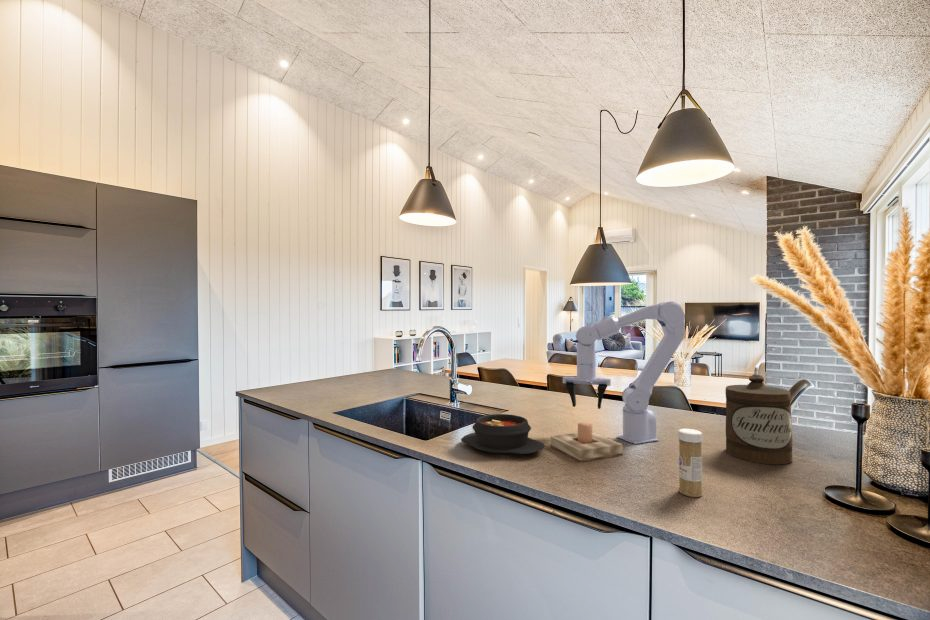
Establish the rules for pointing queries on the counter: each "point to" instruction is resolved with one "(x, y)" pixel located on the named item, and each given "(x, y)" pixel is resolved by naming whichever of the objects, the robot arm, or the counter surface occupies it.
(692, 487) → the sprinkles bottle
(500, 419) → the casserole
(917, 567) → the counter surface
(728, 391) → the wooden container
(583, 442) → the terracotta peg
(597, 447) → the oak socket block
